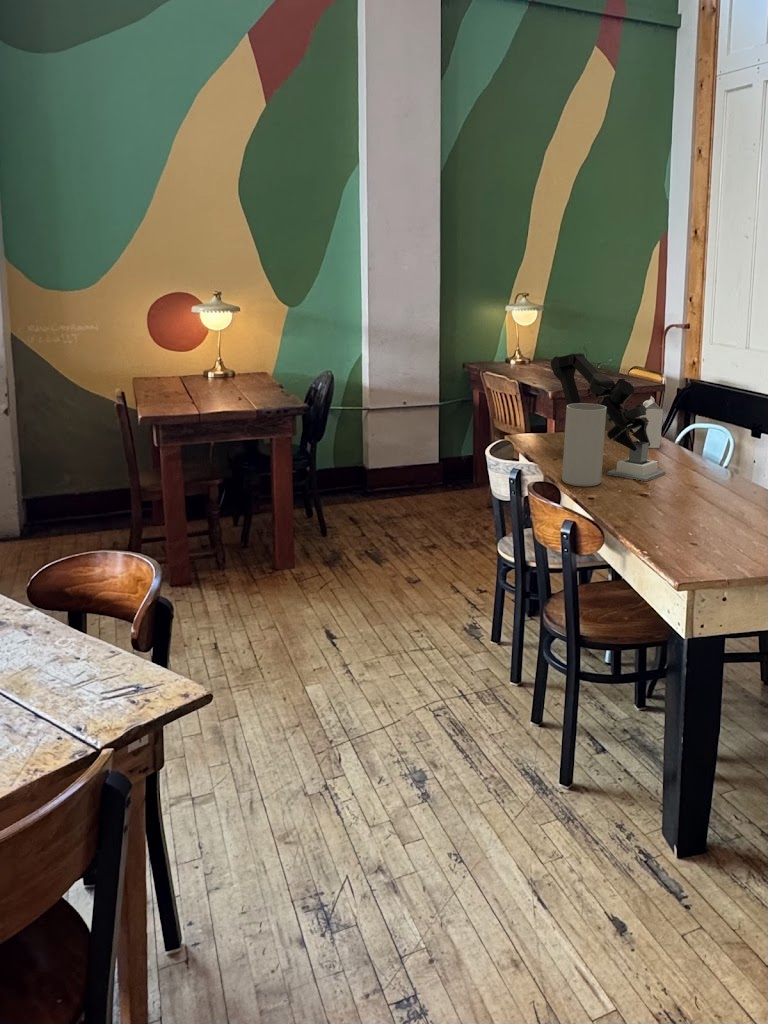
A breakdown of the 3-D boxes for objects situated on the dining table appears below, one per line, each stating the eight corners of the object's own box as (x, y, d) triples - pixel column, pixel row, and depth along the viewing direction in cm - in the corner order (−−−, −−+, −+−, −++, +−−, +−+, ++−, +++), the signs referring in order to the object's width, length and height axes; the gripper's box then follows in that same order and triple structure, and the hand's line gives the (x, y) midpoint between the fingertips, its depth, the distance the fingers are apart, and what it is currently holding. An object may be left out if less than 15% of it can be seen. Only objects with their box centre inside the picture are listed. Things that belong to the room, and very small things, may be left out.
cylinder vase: (572, 488, 282) (577, 411, 275) (555, 478, 294) (559, 404, 287) (607, 485, 286) (613, 409, 278) (589, 476, 297) (594, 402, 290)
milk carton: (655, 444, 344) (660, 396, 339) (659, 448, 337) (664, 399, 332) (637, 444, 345) (641, 395, 339) (640, 448, 338) (644, 399, 333)
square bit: (639, 473, 296) (642, 444, 293) (627, 471, 299) (630, 442, 296) (646, 471, 299) (648, 442, 296) (634, 469, 302) (636, 440, 299)
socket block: (645, 481, 290) (646, 468, 289) (607, 474, 299) (608, 461, 298) (665, 474, 300) (666, 461, 299) (628, 467, 309) (629, 454, 308)
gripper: (618, 400, 288) (646, 438, 284) (645, 393, 301) (673, 429, 297) (595, 420, 296) (622, 458, 292) (623, 413, 309) (649, 449, 305)
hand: (642, 448), depth 296 cm, fingers open, 9 cm apart
